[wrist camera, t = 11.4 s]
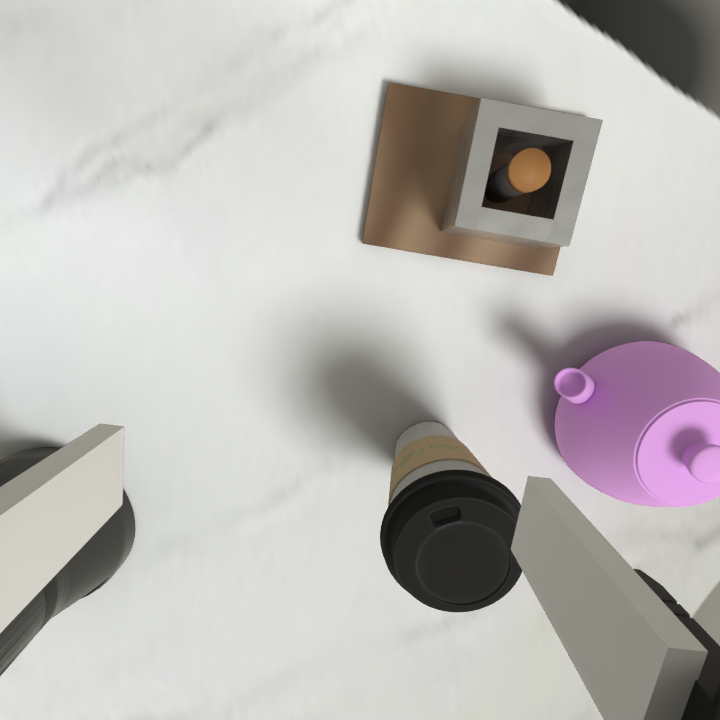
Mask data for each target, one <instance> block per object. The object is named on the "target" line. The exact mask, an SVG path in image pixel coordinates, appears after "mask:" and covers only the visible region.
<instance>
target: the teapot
mask: <svg viewBox="0 0 720 720" xmlns="http://www.w3.org/2000/svg"><path fill="white" fill-rule="evenodd" d="M553 383H554V388H555V390H556V391H557V392H558V393H559V394H560V395H561V397H560V399H559V402H558V406H557V409H556V415H555V435H556V441H557V445H558V448H559V451H560V453H561V455H562V457H563V459H564V460H565V462H566V463H567V465H568V466H569V467H570V468H571V470H572V471H573V472H574V473H575V474H576V475H577V476H579V477H580V478H581V479H582V480H583V481H585V482H586V483H587V484H589V485H590V486H592V487H594V488H595V489H597V490H599V491H600V492H602V493H605V494H607V495H609V496H611V497H613V498H616V499H618V500H622V501H625V502H629V503H632V504H637V505H643V506H651V507H684V506H691V505H696V504H701V503H704V502H708V501H710V500H712V499H714V498H716V497H718V496H720V373H719V372H718V371H717V370H716V369H715V368H713V367H712V366H711V365H709V364H708V363H707V362H705V361H704V360H702V359H701V358H699V357H698V356H696V355H694V354H692V353H690V352H688V351H686V350H684V349H682V348H679V347H676V346H673V345H670V344H667V343H662V342H656V341H639V342H631V343H626V344H622V345H619V346H616V347H613V348H610V349H608V350H606V351H604V352H602V353H600V354H598V355H596V356H595V357H593V358H592V359H590V360H589V361H588V362H587V363H585V364H584V365H583V366H582V367H581V368H580V369H577V368H573V367H568V368H564V369H562V370H560V371H559V372H558V373H557V374H556V375H555V377H554V382H553Z"/></svg>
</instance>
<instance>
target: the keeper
mask: <svg viewBox="0 0 720 720" xmlns="http://www.w3.org/2000/svg"><path fill="white" fill-rule="evenodd" d="M479 101H480V99H479V98H474V97H468V96H463V95H457V94H451V93H446V92H440V91H435V90H429V89H423V88H418V87H412V86H407V85H401V84H395V83H390V82H388V88H387V94H386V101H385V107H384V113H383V119H382V125H381V132H380V138H379V144H378V150H377V156H376V163H375V169H374V175H373V181H372V187H371V193H370V200H369V206H368V212H367V218H366V224H365V231H364V237H363V244H369V245H375V246H381V247H387V248H392V249H398V250H404V251H410V252H416V253H422V254H427V255H433V256H439V257H445V258H451V259H457V260H463V261H468V262H474V263H480V264H486V265H492V266H498V267H504V268H509V269H515V270H521V271H527V272H533V273H539V274H545V275H552V276H553V274H554V270H555V266H556V262H557V258H558V254H559V250H560V247H548V248H532V247H526V246H521V245H515V244H509V243H503V242H498V241H492V240H486V239H481V238H475V237H469V236H463V235H458V234H452V233H446V232H441V227H442V222H443V217H444V212H445V207H446V202H447V197H448V192H449V187H450V182H451V177H452V172H453V167H454V162H455V157H456V152H457V147H458V142H459V137H460V132H461V127H462V125H463V123H464V122H465V120H466V119H467V118H468V116H469V115H470V113H471V112H472V110H473V109H474V108H475V106H476V105H477V103H478V102H479ZM550 173H551V163H550V159H549V157H548V156H547V155H546V153H545V152H543V151H542V150H540V149H537V148H528V149H525V150H523V151H521V152H519V153H518V154H517V155H515V156H509V155H504V154H498V153H493V156H492V161H491V165H490V170H489V174H488V179H487V183H486V188H485V193H484V197H483V202H482V206H481V207H484V208H490V209H496V210H501V211H507V212H513V213H518V214H524V215H526V212H527V208H528V204H529V200H530V196H531V192H532V191H535V190H537V189H539V188H541V187H542V186H543V185H544V184H545V183H546V182H547V180H548V178H549V176H550Z"/></svg>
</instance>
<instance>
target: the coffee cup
mask: <svg viewBox="0 0 720 720" xmlns="http://www.w3.org/2000/svg"><path fill="white" fill-rule="evenodd" d="M520 508H521V505H520V503H519V501H518V500H517V498H516V497H515V496H514V494H513V493H512V492H511V491H510V490H509V489H508V488H507V487H505V486H504V485H503V484H502V483H500V482H499V481H497V480H495V479H493V478H492V477H491V476H490V474H489V473H488V472H487V471H486V470H485V468H484V467H483V466H482V465H481V464H480V462H479V461H478V460H477V459H476V458H475V456H474V455H473V454H472V453H471V452H470V450H469V449H468V448H467V447H466V446H465V445H464V444H463V443H461V442H460V441H459V440H458V439H457V438H456V436H455V435H454V434H453V433H452V432H451V431H450V430H449V429H448V428H447V427H446V426H444V425H443V424H441V423H437V422H430V421H427V422H421V423H417V424H415V425H413V426H411V427H409V428H408V429H406V430H405V431H404V432H403V433H402V434H401V435H400V437H399V438H398V440H397V443H396V448H395V459H394V462H393V465H392V471H391V482H390V492H389V504H388V509H387V511H386V513H385V515H384V518H383V521H382V525H381V532H380V542H381V549H382V553H383V556H384V559H385V561H386V564H387V567H388V569H389V571H390V573H391V574H392V576H393V577H394V579H395V580H396V581H397V582H398V583H399V584H400V585H401V587H403V588H404V589H405V590H406V591H407V592H409V593H410V594H411V595H412V596H413V597H415V598H416V599H417V600H419V601H420V602H422V603H423V604H425V605H427V606H429V607H432V608H435V609H438V610H442V611H447V612H468V611H474V610H478V609H481V608H484V607H486V606H489V605H491V604H493V603H495V602H496V601H498V600H499V599H501V598H502V597H503V596H505V595H506V594H507V593H508V592H509V591H510V590H511V589H512V588H513V586H514V585H515V584H516V582H517V581H518V579H519V577H520V575H521V573H522V569H521V567H520V565H519V564H518V562H517V560H516V558H515V556H514V554H513V553H512V551H511V546H512V542H513V537H514V533H515V529H516V525H517V521H518V517H519V512H520Z"/></svg>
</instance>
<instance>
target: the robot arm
mask: <svg viewBox="0 0 720 720" xmlns="http://www.w3.org/2000/svg"><path fill="white" fill-rule="evenodd" d="M123 463H124V426H115V425H107V424H98V425H97V426H95V427H94V428H92V429H91V430H89V431H87V432H86V433H84V434H83V435H81V436H80V437H78V438H76V439H75V440H73V441H72V442H70V443H69V444H67V445H65V446H64V447H62V448H61V449H60V448H52V447H39V448H31V449H26V450H22V451H19V452H17V453H14V454H12V455H10V456H8V457H7V458H5V459H3V460H1V461H0V676H1V675H2V674H3V673H4V672H5V670H6V669H7V668H8V667H9V666H10V665H11V663H12V662H13V661H14V660H15V659H16V658H17V656H18V655H19V654H20V653H21V652H22V651H23V649H24V648H25V647H26V646H27V645H28V644H29V642H30V641H31V640H32V639H33V638H34V637H35V635H36V634H37V633H38V632H39V631H40V630H41V629H42V628H43V626H44V625H45V624H46V623H47V622H48V621H49V620H50V619H51V618H52V617H54V616H55V615H57V614H58V613H60V612H61V611H63V610H64V609H66V608H67V607H69V606H70V605H72V604H73V603H75V602H76V601H78V600H79V599H81V598H84V597H86V596H88V595H90V594H91V593H93V592H95V591H96V590H98V589H99V588H100V587H102V586H103V585H104V584H105V583H106V582H107V581H108V580H109V579H110V578H111V577H112V576H113V575H114V574H115V572H116V571H117V570H118V569H119V567H120V566H121V565H122V564H123V562H124V561H125V560H126V558H127V556H128V555H129V553H130V551H131V548H132V545H133V542H134V537H135V519H134V514H133V510H132V507H131V504H130V501H129V499H128V497H127V495H126V493H125V492H124V490H123ZM511 551H512V553H513V554H514V556H515V558H516V560H517V562H518V564H519V565H520V567H521V569H522V571H523V573H524V575H525V576H526V578H527V580H528V582H529V584H530V586H531V587H532V589H533V591H534V593H535V595H536V596H537V598H538V600H539V602H540V604H541V606H542V607H543V609H544V611H545V613H546V615H547V617H548V618H549V620H550V622H551V624H552V626H553V628H554V629H555V631H556V633H557V635H558V637H559V639H560V640H561V642H562V644H563V646H564V648H565V649H566V651H567V653H568V655H569V657H570V659H571V660H572V662H573V664H574V666H575V668H576V670H577V671H578V673H579V675H580V677H581V679H582V681H583V682H584V684H585V686H586V688H587V690H588V691H589V693H590V695H591V697H592V699H593V701H594V702H595V704H596V706H597V708H598V710H599V712H600V713H601V715H602V717H603V719H604V720H720V646H719V645H718V644H717V643H716V642H715V641H714V640H713V639H712V638H711V637H710V636H709V635H708V634H707V633H706V631H705V630H704V629H703V628H702V627H701V626H700V625H699V624H698V623H697V622H696V621H695V620H694V619H693V618H690V615H689V614H688V613H687V611H686V610H685V609H684V608H683V607H682V606H681V605H680V604H677V601H676V600H675V599H674V598H673V597H672V596H671V595H670V594H669V593H668V592H667V590H666V589H665V588H664V587H663V586H662V585H661V584H659V583H658V582H657V581H655V580H654V579H652V578H651V577H649V576H648V575H647V574H645V573H644V572H642V571H641V570H638V569H633V568H632V567H631V566H630V565H629V564H628V563H627V562H626V561H625V560H624V559H623V558H622V556H621V555H620V554H619V553H618V552H617V551H616V550H615V549H614V548H613V547H612V545H611V544H610V543H609V542H608V541H607V540H606V539H605V538H604V537H603V536H602V534H601V533H600V532H599V531H598V530H597V529H596V528H595V527H594V526H593V525H592V523H591V522H590V521H589V520H588V519H587V518H586V517H585V516H584V515H583V514H582V512H581V511H580V510H579V509H578V508H577V507H576V506H575V505H574V504H573V503H572V501H571V500H570V499H569V498H568V497H567V496H566V495H565V494H564V493H563V492H562V490H561V489H560V488H559V487H558V486H557V485H556V484H555V483H554V482H553V481H552V480H551V479H549V478H541V477H533V476H528V479H527V483H526V487H525V491H524V496H523V500H522V504H521V508H520V512H519V517H518V521H517V525H516V529H515V533H514V537H513V542H512V546H511Z"/></svg>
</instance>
